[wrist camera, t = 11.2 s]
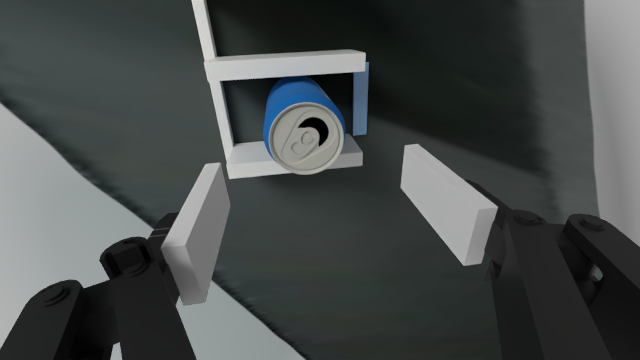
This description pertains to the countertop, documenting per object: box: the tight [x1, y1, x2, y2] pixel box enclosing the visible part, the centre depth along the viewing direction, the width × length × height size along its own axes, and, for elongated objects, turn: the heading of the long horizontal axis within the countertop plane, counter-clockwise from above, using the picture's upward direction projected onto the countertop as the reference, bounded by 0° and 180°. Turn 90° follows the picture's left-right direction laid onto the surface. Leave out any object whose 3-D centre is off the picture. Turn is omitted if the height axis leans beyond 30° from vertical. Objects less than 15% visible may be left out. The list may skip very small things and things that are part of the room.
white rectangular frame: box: [192, 0, 366, 179], centre depth 25 cm, size 28×14×6 cm, turn 3°
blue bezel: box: [353, 62, 369, 136], centre depth 32 cm, size 8×2×1 cm, turn 3°
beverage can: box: [263, 76, 346, 175], centre depth 26 cm, size 6×6×12 cm
